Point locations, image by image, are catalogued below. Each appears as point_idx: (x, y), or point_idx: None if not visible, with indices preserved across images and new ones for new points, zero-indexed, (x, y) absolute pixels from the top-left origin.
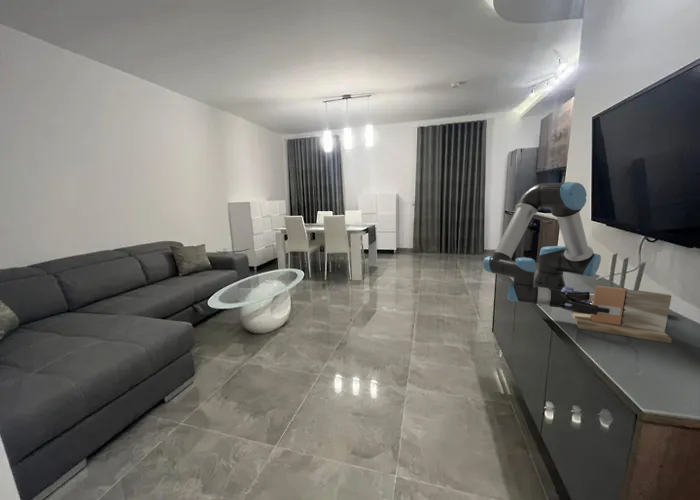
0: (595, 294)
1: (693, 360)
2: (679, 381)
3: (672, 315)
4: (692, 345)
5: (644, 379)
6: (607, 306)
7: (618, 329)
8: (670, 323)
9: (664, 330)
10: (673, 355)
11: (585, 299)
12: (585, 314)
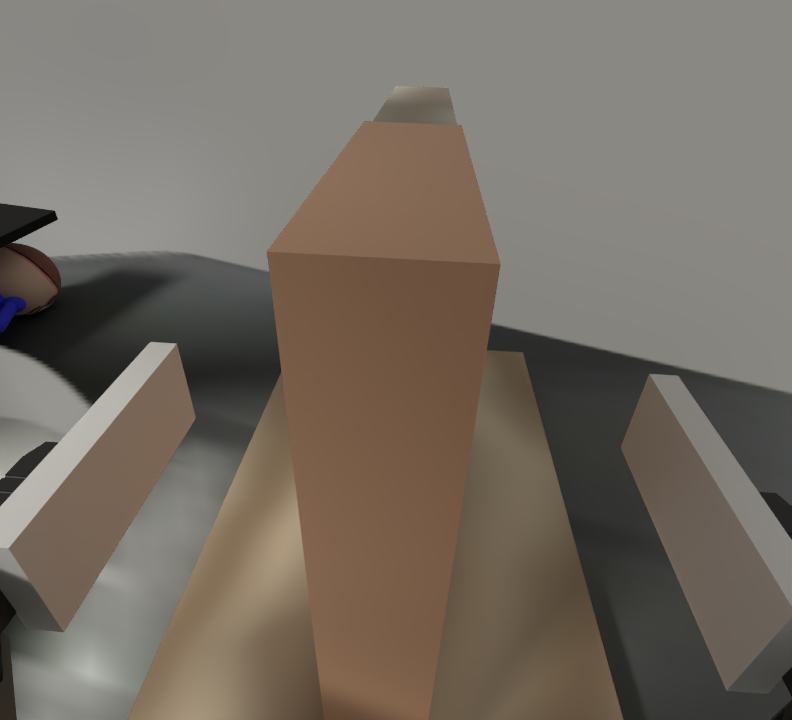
0: (441, 476)
1: (697, 372)
2: None
3: (111, 271)
4: (491, 326)
5: None
6: (726, 481)
7: (538, 548)
8: (221, 302)
9: None
10: (707, 412)
11: (8, 701)
12: None
